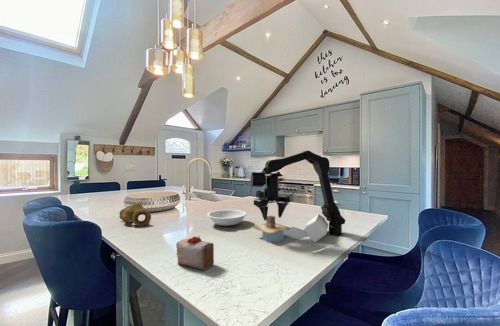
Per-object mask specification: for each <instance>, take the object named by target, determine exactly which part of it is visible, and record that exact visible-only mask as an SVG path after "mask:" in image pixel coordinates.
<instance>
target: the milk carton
mask: <svg viewBox="0 0 500 326" xmlns="http://www.w3.org/2000/svg"><path fill="white" fill-rule="evenodd" d="M303 230H304V231H305V232H306V233H307V235H308V237H309V238H310V239H311V241H313V242H314V243H316V242H318V241H319V240H321V239H322V238H323V237H324V236H326V235H327V233H328V230H329V222H328V221H327V219H326V218H325V217H324V216H322V215H321V214H319V213H318V214H317V215H316V216H315V215H314V217H313V218H312V219H310V220H309V221H308V222H307V224H306V226H305V227H304V229H303Z"/></svg>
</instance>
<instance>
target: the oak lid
mask: <svg viewBox="0 0 500 326" xmlns="http://www.w3.org/2000/svg"><path fill="white" fill-rule="evenodd" d="M251 227H252V229H255V230H258V231H260V232H265V233H268V234H272V233H276V232H280V231H284V230H288V229H290V227H291V226H290V227H288V226H286V225H282V224H280V223H276V216H274V215H267V219H266V223H262V224H257V225H256V224H255V225H253V226H251Z"/></svg>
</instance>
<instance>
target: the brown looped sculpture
mask: <svg viewBox="0 0 500 326" xmlns="http://www.w3.org/2000/svg"><path fill="white" fill-rule="evenodd" d="M141 215H144V220H141V221H140V220H139V217H140V216H141ZM119 219H121V220H122V221H123V222H124V223H125V222H126V223H127V222H132V224H134V225H135V226H137V227H145V226H147V225H149V223H151V222H150V221H151V219H152V215H151V212H149V210H147V209H144V207H143V205H142V203H135V204H132V205H127V206H126V207H125V208H123V209H121V210H120V211H119Z"/></svg>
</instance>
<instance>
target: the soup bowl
mask: <svg viewBox="0 0 500 326" xmlns="http://www.w3.org/2000/svg"><path fill="white" fill-rule="evenodd" d="M247 215H248V212H247V211H245V210H240V209H220V210H219V209H218V210H212V211H210V212H208V213H206V216H207V218H209V219H210V220H211V221H212V223H213V224H215V225H219V226H223V227H227V226H228V227H229V226H230V227H231V226H235V225H238V224H240V223H241V222H242V221H243V220H244V219H245V217H247Z"/></svg>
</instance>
